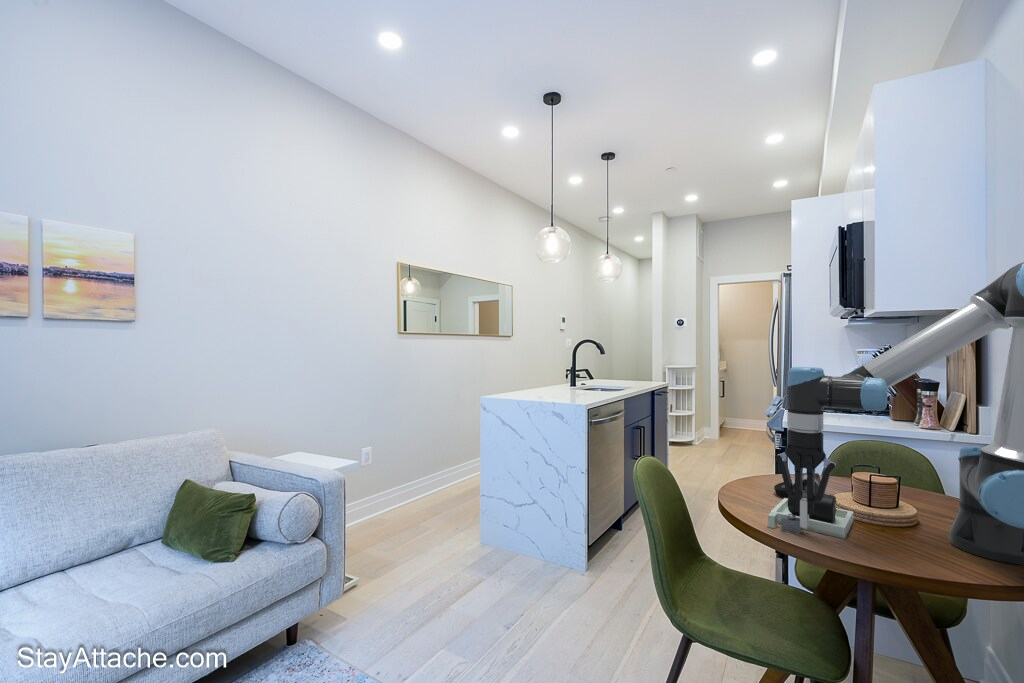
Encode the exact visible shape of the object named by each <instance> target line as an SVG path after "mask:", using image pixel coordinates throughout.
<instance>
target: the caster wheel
mask: <svg viewBox="0 0 1024 683" xmlns="http://www.w3.org/2000/svg"><path fill="white" fill-rule="evenodd" d="M791 480H792V484H793V488H794V490H795V479H791ZM820 482H821V476H820V474H819V473H818V472H815V494H817V492H818V488H819V485H820ZM773 489H774V492H775V495H776V496H777V497H778V498H781V499H784V498H787V499H788V494H787V493H786V489H785V485H784V481H782V482H779V483H777V484H775V485H774V486H773ZM803 490H807V472H803Z"/></svg>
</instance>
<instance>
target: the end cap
mask: <svg viewBox="0 0 1024 683" xmlns="http://www.w3.org/2000/svg"><path fill="white" fill-rule="evenodd" d="M802 495H803V496H802V498H805V499H807V490H802ZM815 495H816V494H815ZM787 499H788V510H789V512H791V514H793V515H796V516H800V512H796V510H795V498H794V497H793V496H791V495H788V498H787ZM837 502H838V501H837V497H836V496H835V495H833V494H827V493H826V492H825V493H824V497H823V498H822V500H821V501H814V513H813V515H809V519H814V520H818V521H822V522H827V523H831V524H833V523H834V522H835V520H836V518H835V513H836V511H837V510H836V508H837V507H836V504H837Z"/></svg>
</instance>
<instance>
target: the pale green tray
mask: <svg viewBox="0 0 1024 683" xmlns="http://www.w3.org/2000/svg"><path fill="white" fill-rule="evenodd" d="M835 508H836V510H837V511H836V513H835V518H836V520H835V522H834V523H833V524H831V523H827V522H822V521H818V520H814V519H809V527H808V528H807V529H805V528H802V530H806V531H810V532H814V533H818V534H822V535H827V536H830V537H837V538H840V539H845V540H846V537H847V535H848V533H849V531H850V529H851V527H852V525H853V523H854V511H852V510H847V509H842V508H837V507H835ZM788 514H791V512H789V510H788V498H782V499H781V501H780V502H779V503H778V504H777V505H776V506H774V508H772V509H771V511H770V512H769V513H768V514H767V527H768V528H770V529H776V528H777V527H778V526H779V524H780V525H781V518H782V517H783V516H784V515H787V516H788ZM795 516H796V515H795ZM796 518H800V516H796Z"/></svg>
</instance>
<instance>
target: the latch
mask: <svg viewBox="0 0 1024 683" xmlns="http://www.w3.org/2000/svg"><path fill="white" fill-rule="evenodd" d="M780 525H781V526H780V527H781V531H783V532H786V533H787V532H788V533H792V534H796V535H801V534H802V532H803V529H802V528H801V527H800V518H796V516H795V515H793V514H788V516H787V515H784V516H783V517H782V518H781V524H780Z"/></svg>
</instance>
